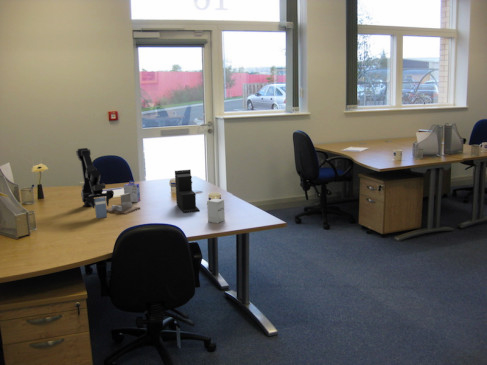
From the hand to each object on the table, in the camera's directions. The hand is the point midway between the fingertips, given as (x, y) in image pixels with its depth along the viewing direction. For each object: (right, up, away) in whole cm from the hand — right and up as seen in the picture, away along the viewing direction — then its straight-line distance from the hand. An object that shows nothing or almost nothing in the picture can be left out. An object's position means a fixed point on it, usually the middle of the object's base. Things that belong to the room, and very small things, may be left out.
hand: (101, 207), depth 286 cm
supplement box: (+72, -8, -14) cm, 73 cm away
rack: (+8, -3, +18) cm, 20 cm away
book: (0, -6, +3) cm, 7 cm away
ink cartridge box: (+10, +2, +41) cm, 42 cm away
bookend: (+51, -2, +18) cm, 54 cm away
